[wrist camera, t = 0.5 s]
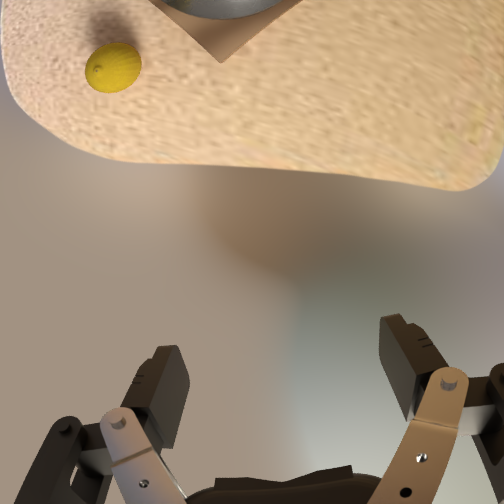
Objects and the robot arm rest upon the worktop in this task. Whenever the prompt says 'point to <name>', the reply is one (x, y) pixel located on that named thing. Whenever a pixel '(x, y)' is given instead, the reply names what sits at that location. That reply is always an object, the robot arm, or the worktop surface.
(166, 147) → the worktop surface
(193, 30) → the wheel stand
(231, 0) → the handwheel
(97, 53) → the lemon
